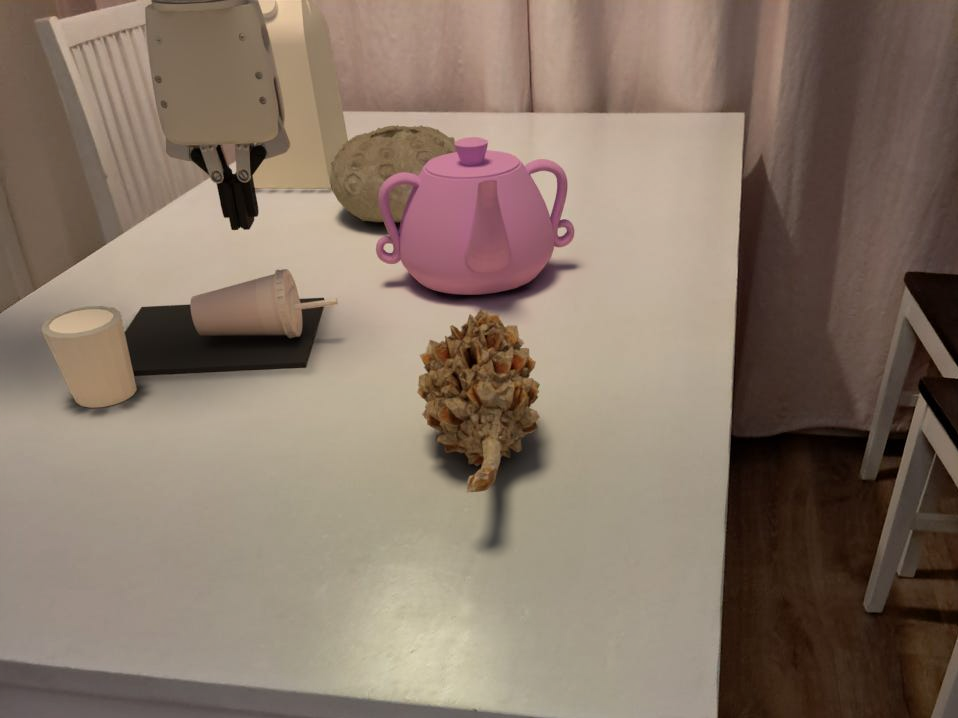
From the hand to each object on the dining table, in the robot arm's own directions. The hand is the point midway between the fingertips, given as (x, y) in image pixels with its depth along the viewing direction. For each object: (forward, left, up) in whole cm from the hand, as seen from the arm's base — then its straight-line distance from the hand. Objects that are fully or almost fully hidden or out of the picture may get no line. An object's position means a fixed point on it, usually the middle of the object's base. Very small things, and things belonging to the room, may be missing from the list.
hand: (243, 224), depth 85 cm
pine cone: (+22, -26, -12) cm, 36 cm away
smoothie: (-7, 0, -8) cm, 11 cm away
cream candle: (-14, -9, -12) cm, 20 cm away
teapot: (+22, +13, -12) cm, 28 cm away
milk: (-4, +59, -12) cm, 60 cm away
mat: (-5, +2, -11) cm, 13 cm away
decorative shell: (+12, +39, -12) cm, 42 cm away
